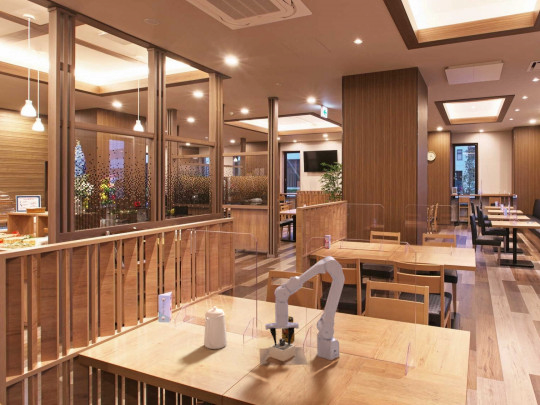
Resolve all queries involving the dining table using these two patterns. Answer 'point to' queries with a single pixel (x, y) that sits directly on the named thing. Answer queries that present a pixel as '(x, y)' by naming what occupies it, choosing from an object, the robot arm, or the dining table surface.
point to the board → (267, 360)
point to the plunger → (282, 344)
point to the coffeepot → (215, 329)
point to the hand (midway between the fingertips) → (282, 344)
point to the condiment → (285, 331)
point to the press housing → (282, 352)
